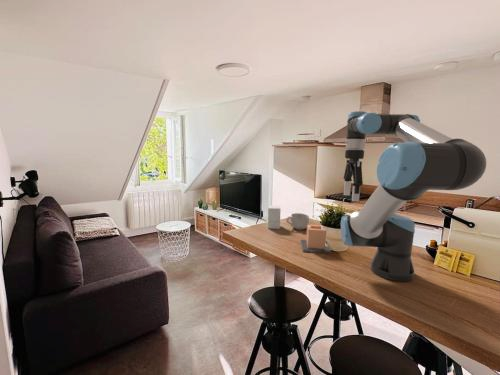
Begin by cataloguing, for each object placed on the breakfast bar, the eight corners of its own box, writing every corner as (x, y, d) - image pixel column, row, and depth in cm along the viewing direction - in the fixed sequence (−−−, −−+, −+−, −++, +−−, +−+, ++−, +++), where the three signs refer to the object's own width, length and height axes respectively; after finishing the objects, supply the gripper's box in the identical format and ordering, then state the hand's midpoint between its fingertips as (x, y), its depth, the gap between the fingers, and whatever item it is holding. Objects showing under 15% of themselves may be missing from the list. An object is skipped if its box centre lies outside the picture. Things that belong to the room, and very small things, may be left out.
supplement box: (279, 225, 159) (280, 205, 157) (279, 229, 152) (280, 208, 150) (267, 224, 160) (268, 205, 158) (267, 228, 153) (268, 208, 151)
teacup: (305, 225, 160) (306, 213, 159) (310, 231, 150) (311, 218, 148) (283, 225, 160) (284, 213, 158) (287, 231, 149) (288, 217, 148)
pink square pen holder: (322, 242, 129) (323, 225, 127) (325, 248, 121) (326, 230, 119) (306, 241, 129) (307, 224, 128) (307, 247, 122) (308, 229, 120)
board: (331, 253, 119) (332, 238, 118) (302, 251, 120) (303, 236, 119) (326, 243, 131) (327, 230, 129) (300, 242, 132) (301, 228, 131)
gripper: (339, 149, 122) (335, 192, 125) (354, 149, 98) (349, 203, 101) (355, 149, 121) (351, 193, 125) (374, 149, 97) (369, 204, 100)
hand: (350, 198), depth 113 cm, fingers open, 13 cm apart
